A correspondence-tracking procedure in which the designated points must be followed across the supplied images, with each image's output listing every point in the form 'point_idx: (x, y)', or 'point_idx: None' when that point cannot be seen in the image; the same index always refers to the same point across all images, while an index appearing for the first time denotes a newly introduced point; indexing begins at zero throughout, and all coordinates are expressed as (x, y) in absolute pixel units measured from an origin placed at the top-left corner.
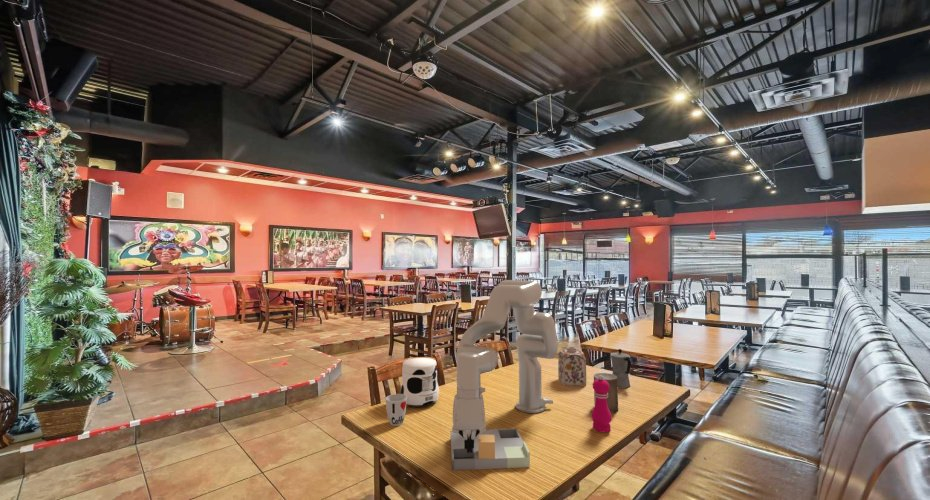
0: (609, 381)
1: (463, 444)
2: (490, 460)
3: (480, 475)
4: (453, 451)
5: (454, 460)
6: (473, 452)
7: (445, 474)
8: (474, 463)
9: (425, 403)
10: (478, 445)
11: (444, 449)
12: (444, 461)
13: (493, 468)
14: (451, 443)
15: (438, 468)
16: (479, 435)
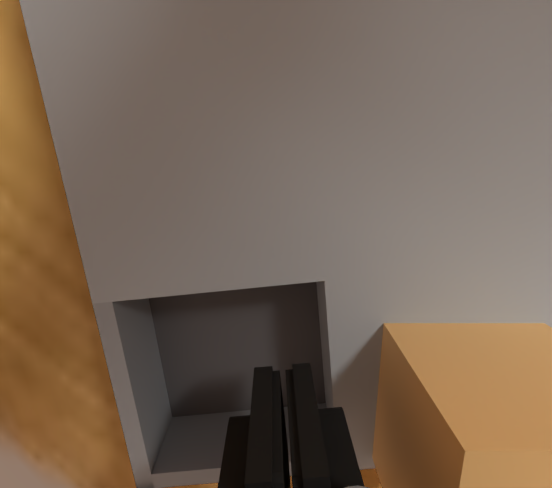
0: None
1: (212, 202)
2: None
3: (360, 471)
4: (122, 349)
5: (158, 484)
6: (324, 317)
7: (123, 469)
8: None
9: None
10: (387, 223)
11: (29, 112)
12: (79, 317)
13: None
14: (65, 182)
15: (57, 407)
16: (475, 475)
